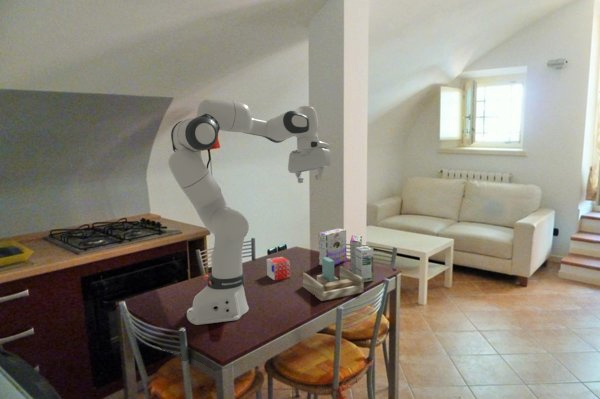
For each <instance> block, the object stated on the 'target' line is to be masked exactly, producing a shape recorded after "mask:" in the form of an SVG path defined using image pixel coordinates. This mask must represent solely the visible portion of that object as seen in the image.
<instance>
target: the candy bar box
mask: <svg viewBox="0 0 600 399" xmlns="http://www.w3.org/2000/svg"><path fill="white" fill-rule="evenodd" d="M349 246H350V247H349V252H350V253H349V255H350V257H349V258H350V271H352V272H353V273H355V274H356V247H363V235H362V234H361V235H360V234H358V235H357V234H356V235H355V234H352V235H351V236H350V242H349Z"/></svg>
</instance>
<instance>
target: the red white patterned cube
mask: <svg viewBox="0 0 600 399" xmlns="http://www.w3.org/2000/svg"><path fill="white" fill-rule="evenodd" d="M266 274H267V276H268V277H269V278H270V279H272V280H273V281H278V280H279V281H280V280H285V279H288V278H291V261H290V260H289V259H288V258H286V257H284V256H277V257H271V258H266Z"/></svg>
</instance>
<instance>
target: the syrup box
mask: <svg viewBox="0 0 600 399" xmlns="http://www.w3.org/2000/svg"><path fill="white" fill-rule="evenodd" d="M356 274H357V275H359V276H361V277H362V278H363V283H365V282H366V283H367V282H372V281H374V248H372V247H370V246H367V245H365V246H362V247H356Z"/></svg>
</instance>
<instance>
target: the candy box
mask: <svg viewBox="0 0 600 399" xmlns="http://www.w3.org/2000/svg"><path fill="white" fill-rule="evenodd" d="M325 257H328V258H330V259H332V260H334V266H336V265H339V264H342V263H345V262H347V261H348V260H347V230H346V229H343V228H340V227H339V228H335V229H330V230H326V231H320V232H318V262H319V263H318V264H319V265H320V266H321V267H322V258H325Z"/></svg>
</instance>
